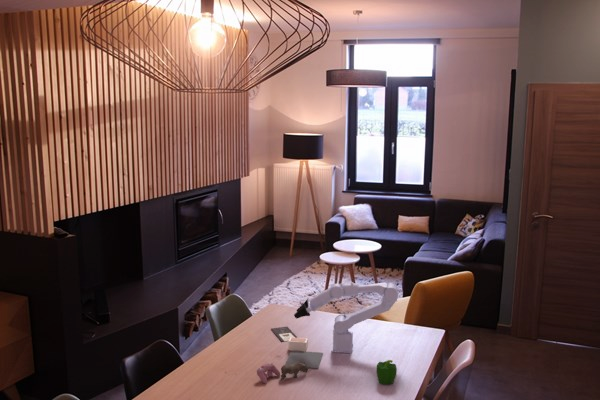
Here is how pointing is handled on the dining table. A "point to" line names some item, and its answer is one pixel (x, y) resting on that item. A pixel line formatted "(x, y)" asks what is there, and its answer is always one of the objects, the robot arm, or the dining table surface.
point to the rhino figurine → (293, 369)
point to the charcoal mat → (305, 358)
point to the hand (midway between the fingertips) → (296, 314)
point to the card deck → (298, 344)
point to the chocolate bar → (283, 333)
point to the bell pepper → (386, 372)
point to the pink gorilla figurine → (269, 369)
